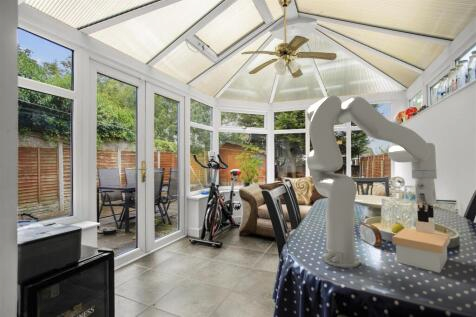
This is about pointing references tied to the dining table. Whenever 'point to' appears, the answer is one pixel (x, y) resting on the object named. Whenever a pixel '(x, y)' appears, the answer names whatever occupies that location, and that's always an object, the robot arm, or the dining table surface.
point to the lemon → (397, 228)
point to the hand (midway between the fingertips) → (426, 219)
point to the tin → (370, 234)
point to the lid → (422, 237)
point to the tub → (421, 258)
